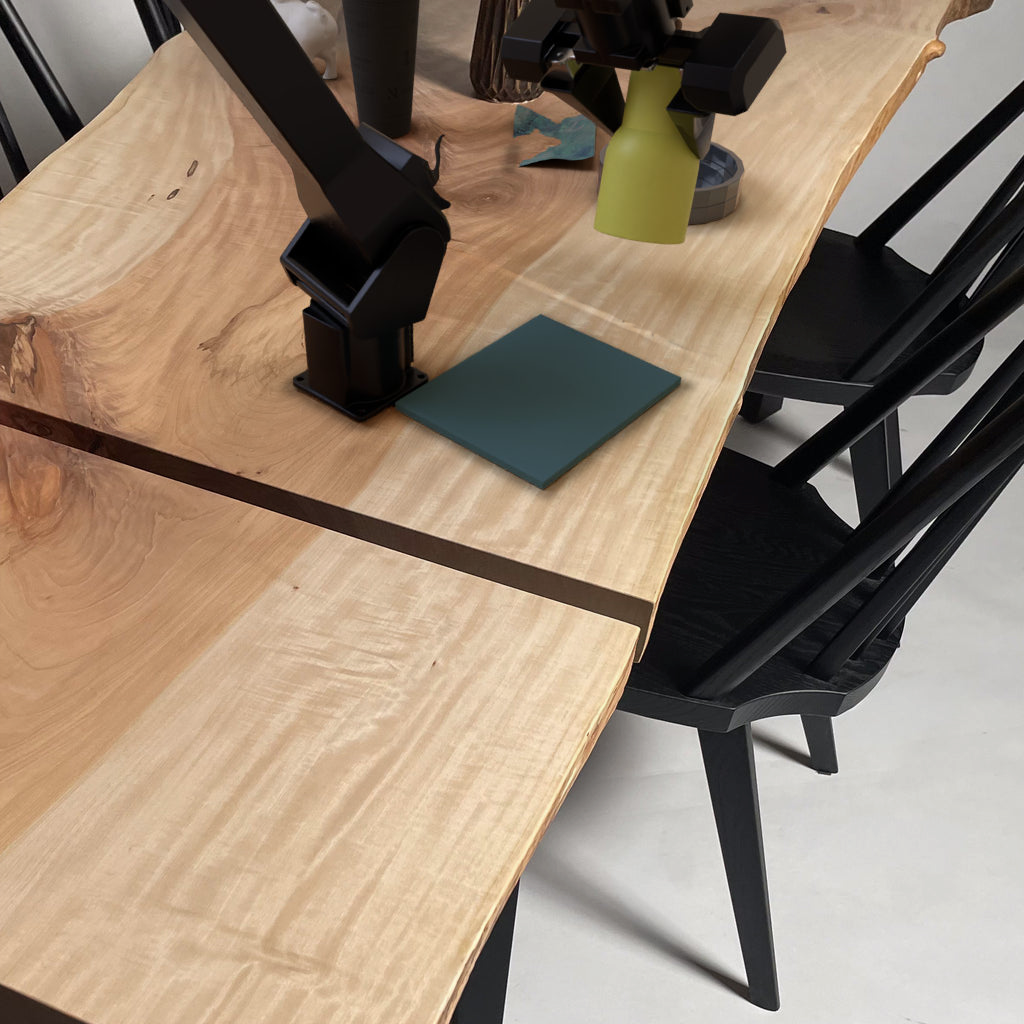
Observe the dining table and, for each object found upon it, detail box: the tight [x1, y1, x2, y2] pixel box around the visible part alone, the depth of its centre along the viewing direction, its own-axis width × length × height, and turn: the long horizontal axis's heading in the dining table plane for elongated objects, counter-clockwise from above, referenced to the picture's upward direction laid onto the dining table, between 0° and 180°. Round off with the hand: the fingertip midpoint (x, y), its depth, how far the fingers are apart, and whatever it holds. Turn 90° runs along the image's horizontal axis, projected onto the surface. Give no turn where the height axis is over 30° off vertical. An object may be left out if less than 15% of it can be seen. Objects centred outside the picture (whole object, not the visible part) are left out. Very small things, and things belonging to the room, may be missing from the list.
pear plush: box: [593, 18, 699, 245], centre depth 76 cm, size 7×7×14 cm
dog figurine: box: [270, 0, 339, 80], centre depth 112 cm, size 5×13×11 cm, turn 51°
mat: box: [394, 313, 682, 490], centre depth 72 cm, size 15×12×1 cm
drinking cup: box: [341, 0, 421, 139], centre depth 98 cm, size 8×8×20 cm
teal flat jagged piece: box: [512, 104, 597, 168], centre depth 102 cm, size 13×8×2 cm, turn 176°
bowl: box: [596, 141, 746, 226], centre depth 94 cm, size 12×12×4 cm
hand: (664, 147), depth 78 cm, fingers closed on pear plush, 6 cm apart
